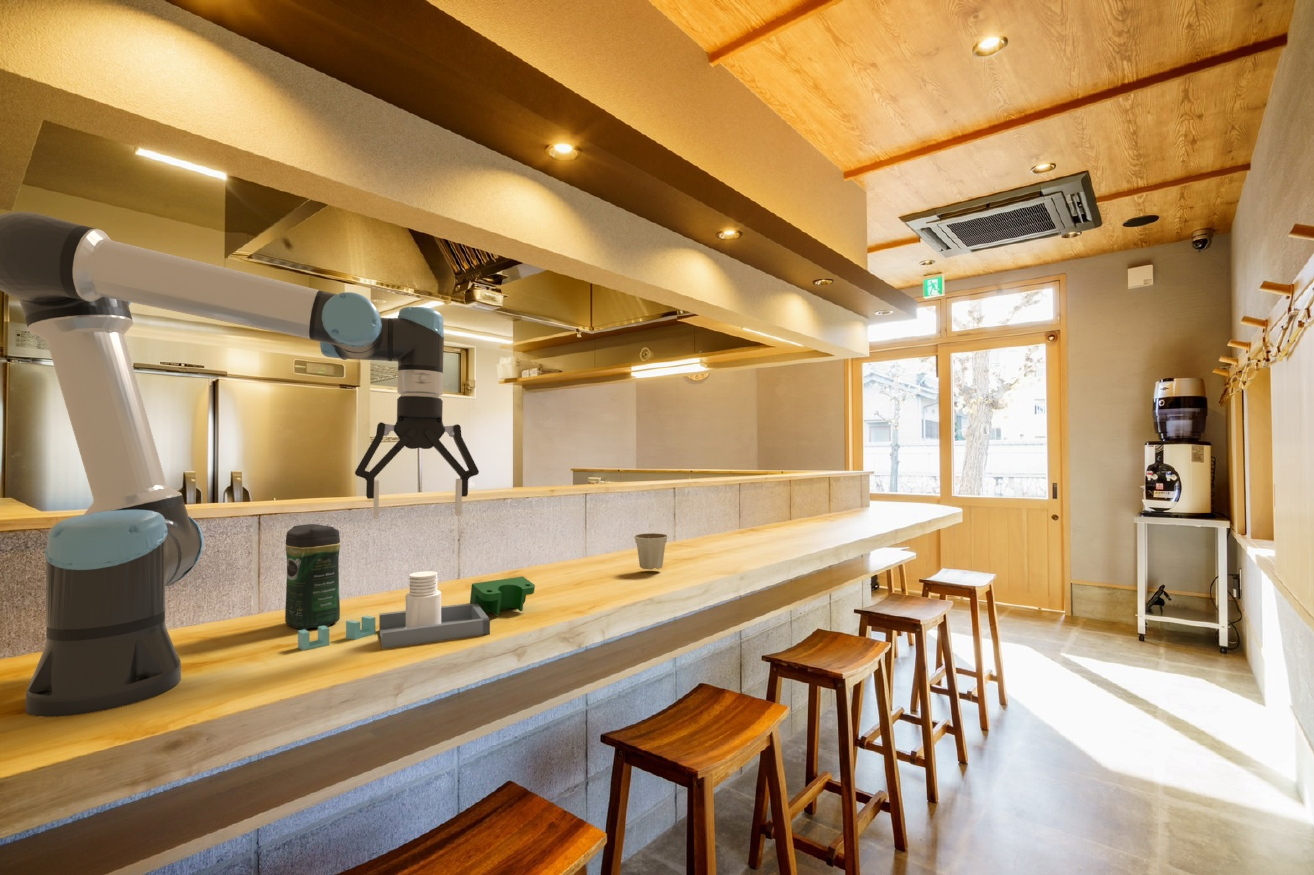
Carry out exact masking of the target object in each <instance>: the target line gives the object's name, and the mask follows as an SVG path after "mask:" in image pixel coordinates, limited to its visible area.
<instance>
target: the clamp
mask: <svg viewBox="0 0 1314 875" xmlns="http://www.w3.org/2000/svg"><path fill="white" fill-rule="evenodd" d="M535 587H536V585H535V583H533V582H532V581H531V580H529V579H527V578H526V577H524V576H516V577H509V578H503V579H502V578H501V579H496V580H489V581H487V580H486V581H482V582H481V581H480V582H474V583H473V582H472V583H471V588H470V598H469V599H470V600H469V603H476V602H477V604H478V605H479V606H480V607H481V609H482V610H483V611H484V612H485V614H487V613H493V614H494V615H495V616H500V611H502V610H510V609H517V610H518V611H519V612H523V610H524V609H523V608H524V604H525V602H526V598H527V596H529V595H533V594H535Z"/></svg>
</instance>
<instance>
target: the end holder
mask: <svg viewBox="0 0 1314 875" xmlns="http://www.w3.org/2000/svg"><path fill="white" fill-rule="evenodd" d="M378 616H379V623H378V625H379V630H378V632H379V636H380V643H381V649H382V650H386V649H387V650H388V649H393V647H394V648H399V647H407V646H415V645H416V646H417V645H422V644H423V645H424V644H429V643H437V642H445V641H450V640H460V639H465V638H466V639H467V638H472V637H473V638H475V637H481V636H488V635H489V636H490V635H491V618H490V617H489V616H488V615H487V613H485V612H484V611H483V610H482V609H481V607H480V606H479V605H478V604H477V602H476V603H470V602H469V603H461V604H459V603H458V604H451V605H450V604H449V605H441V624H435V625H427V626H419V627H411V628H405V627H406V610H399V611H391V612H382V613H381V612H380V613H379V615H378Z"/></svg>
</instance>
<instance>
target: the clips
mask: <svg viewBox="0 0 1314 875" xmlns="http://www.w3.org/2000/svg"><path fill="white" fill-rule="evenodd" d="M376 630H377V629H376V617H375V616H370V615H363V616H361V621H358V620H355V619H351V620H350V619H349V620H346V621H345V638H346V639H347V640H348V639H349V640H352V641H353V640H354V641H356V640H359V639H363V638H366V637H367V638H368V637H370V636H373V635H374V636H375V635H376V633H377V631H376ZM310 639H311V638H310V631H308V630H307V629H299V630H297V649H299V650H301V651H307V650H312V649H317V647H318V648H321V647H326V646H330V627H328V626H319V627H318V628H317V639H316V640H312V641H310Z"/></svg>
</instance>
